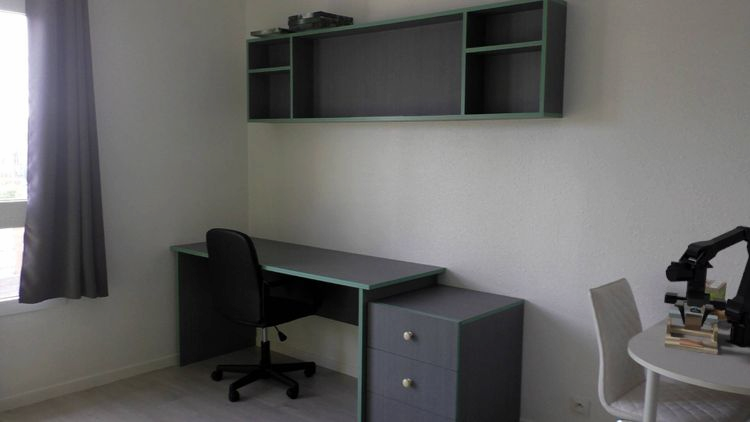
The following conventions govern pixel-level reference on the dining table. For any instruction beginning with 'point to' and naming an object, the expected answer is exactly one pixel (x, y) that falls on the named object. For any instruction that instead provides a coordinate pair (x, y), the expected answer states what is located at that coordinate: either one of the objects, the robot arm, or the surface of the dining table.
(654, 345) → the dining table surface
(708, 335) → the puzzle board
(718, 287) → the tea box
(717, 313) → the lion figurine
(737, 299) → the robot arm
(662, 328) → the dining table surface
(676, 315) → the sliding slat
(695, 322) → the walnut block
